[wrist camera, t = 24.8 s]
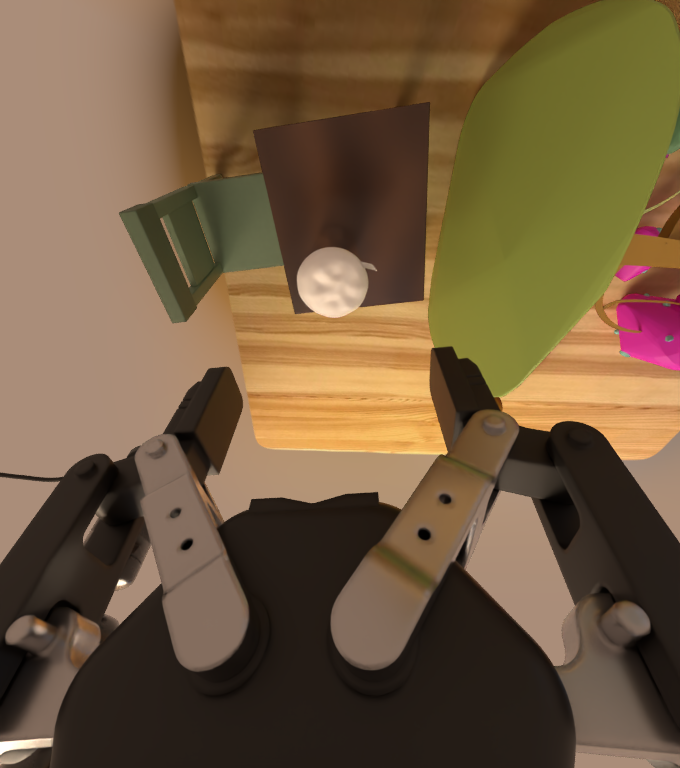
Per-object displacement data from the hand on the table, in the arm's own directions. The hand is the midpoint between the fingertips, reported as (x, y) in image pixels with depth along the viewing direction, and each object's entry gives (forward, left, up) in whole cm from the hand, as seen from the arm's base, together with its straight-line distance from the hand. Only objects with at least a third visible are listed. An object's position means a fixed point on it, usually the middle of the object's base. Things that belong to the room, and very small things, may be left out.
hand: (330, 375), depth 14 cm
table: (+1, +1, -30) cm, 30 cm away
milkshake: (0, 0, -18) cm, 18 cm away
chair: (-9, +1, -30) cm, 31 cm away
